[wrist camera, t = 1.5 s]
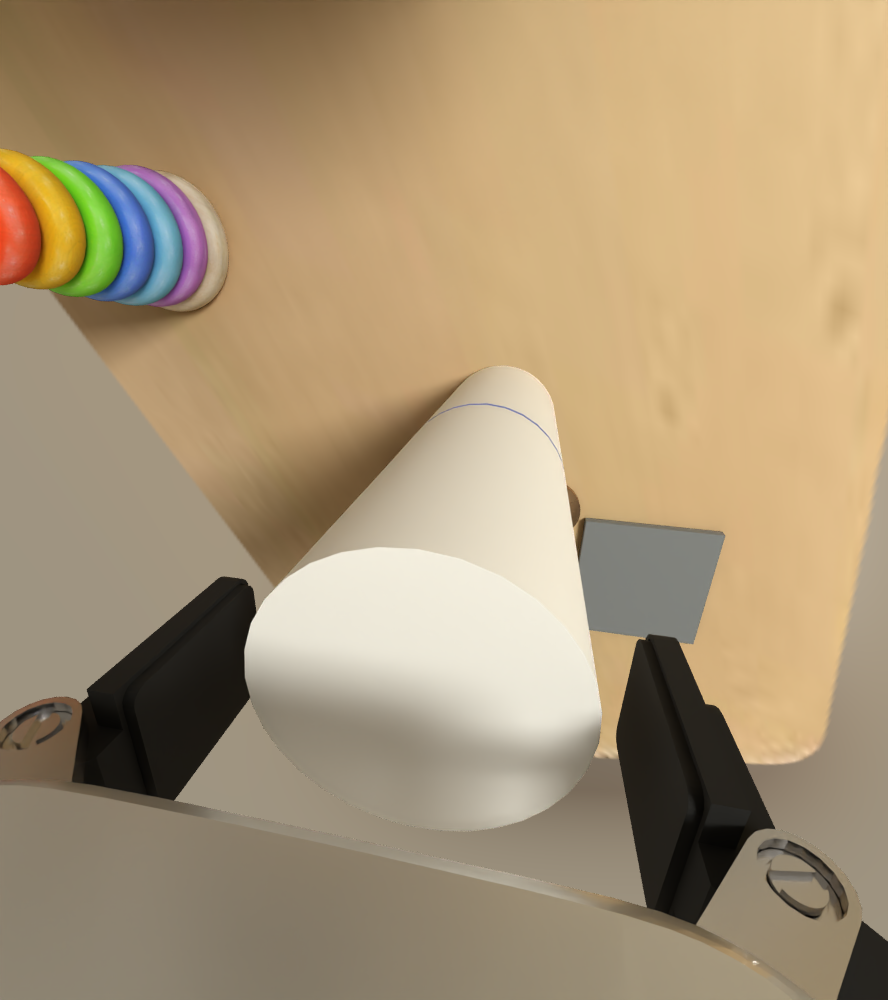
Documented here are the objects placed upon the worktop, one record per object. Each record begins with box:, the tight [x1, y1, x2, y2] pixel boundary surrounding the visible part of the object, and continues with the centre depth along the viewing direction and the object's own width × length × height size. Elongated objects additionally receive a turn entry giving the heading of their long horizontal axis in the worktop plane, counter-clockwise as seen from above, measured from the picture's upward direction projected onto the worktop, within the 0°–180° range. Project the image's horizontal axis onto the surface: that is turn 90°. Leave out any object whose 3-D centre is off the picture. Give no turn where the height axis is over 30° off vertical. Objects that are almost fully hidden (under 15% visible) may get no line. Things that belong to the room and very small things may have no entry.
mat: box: [578, 518, 725, 644], centre depth 34 cm, size 9×9×1 cm
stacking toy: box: [0, 149, 229, 312], centre depth 23 cm, size 8×8×19 cm
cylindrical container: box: [244, 366, 602, 831], centre depth 21 cm, size 7×7×25 cm
